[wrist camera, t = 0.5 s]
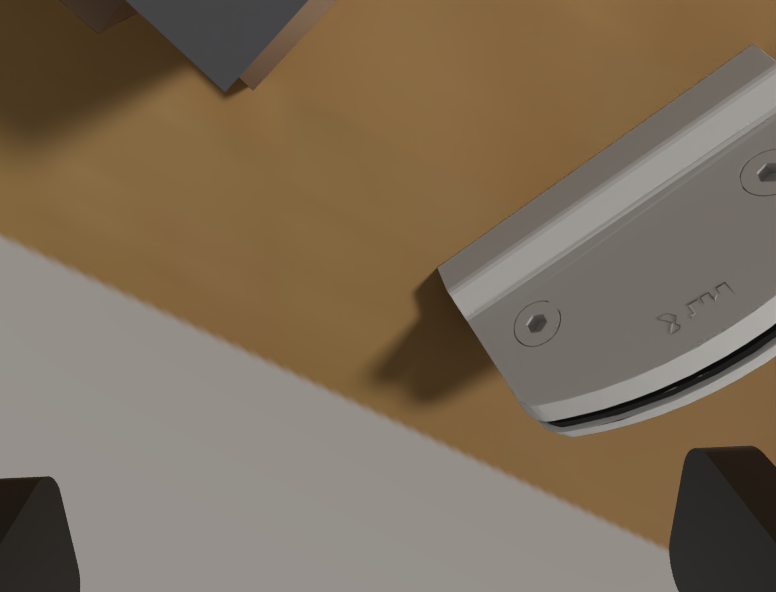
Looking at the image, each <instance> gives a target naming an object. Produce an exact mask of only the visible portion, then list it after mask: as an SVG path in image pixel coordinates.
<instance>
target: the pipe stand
mask: <svg viewBox="0 0 776 592" xmlns="http://www.w3.org/2000/svg"><path fill="white" fill-rule="evenodd" d="M60 1H61V2H63V3H64V4H65V5H66V6H67V7H68V8H69V9H70V10H72V11H73V12H74V13H75V14H76V15H77V16H78V17H79V18H81V19H82V20H83V21H84V22H85V23H86V24H87V25H88V26H90V27H91V28H92V29H93V30H94V31H95V32H96V33H99V32H101V31H103V30H105V29H107V28H109V27H111V26H113V25H115V24H117V23H119V22H121V21H123V20H125V19H127V18H129V17H131V16H133V15H135V14H137V13H138V11H136V10H135V9H134V8H133V7H132V6H131V5H130V4H129V3H128V2H127V1H126V0H60ZM335 1H336V0H308V1H307V2H306V4H305V5H304V6H303V7H302V8H301V9H300V10H299V11H298V12H297V14H296V15H295V16H294V17H293V18H292V19H291V20H290V21H289V22H288V23H287V25H286V26H285V27H284V28H283V29H282V30H281V31H280V32H279V33H278V35H277V36H276V37H275V38H274V39H273V40H272V41H271V42H270V43H269V44H268V46H267V47H266V48H265V49H264V50H263V51H262V52H261V53H260V54H259V55H258V57H257V58H256V59H255V60H254V61H253V62H252V63H251V64H250V65H249V67H248V68H247V69H246V70H245V71H244V72H243V73H242V74H241V75H240V76H239V78H240V79H241V80H242V81H243V82H244V83H245V84H246V85H248V86H249V87H250V88H251V89H252V90H254V89H255V88H256V87H257V86H258V85H259V84H260V83H261V81H262V80H263V79H264V78H265V77H266V76H267V75H268V74H269V73H270V72H271V71H272V70H273V68H274V67H275V66H276V65H277V64H278V63H279V62H280V61H281V60H282V59H283V58H284V57H285V55H286V54H287V53H288V52H289V51H290V50H291V49H292V48H293V47H294V46H295V45H296V44H297V42H298V41H299V40H300V39H301V38H302V37H303V36H304V35H305V34H306V33H307V32H308V31H309V29H310V28H311V27H312V26H313V25H314V24H315V23H316V22H317V21H318V20H319V19H320V18H321V16H322V15H323V14H324V13H325V12H326V11H327V10H328V9H329V8H330V7H331V6H332V5H333V3H334V2H335Z"/></svg>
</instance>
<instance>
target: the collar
mask: <svg viewBox="0 0 776 592" xmlns="http://www.w3.org/2000/svg"><path fill="white" fill-rule="evenodd" d="M126 1H127V2H128V3H129V4H130V5H131V6H132V7H133V8H134V9H135V10H136V11H138V12H139V13H140V14H141V15H142V16H143V17H144V18H145V19H146V20H147V21H148V22H149V23H151V24H152V25H153V26H154V27H155V28H156V29H157V30H158V31H159V32H160V33H161V34H162V35H163V36H165V37H166V38H167V39H168V40H169V41H170V42H171V43H172V44H173V45H174V46H175V47H176V48H178V49H179V50H180V51H181V52H182V53H183V54H184V55H185V56H186V57H187V58H188V59H189V60H191V61H192V62H193V63H194V64H195V65H196V66H197V67H198V68H199V69H200V70H201V71H202V72H204V73H205V74H206V75H207V76H208V77H209V78H210V79H211V80H212V81H213V82H214V83H215V84H216V85H218V86H219V87H220V88H221V89H222V90H223V91H224V92H226V91H227V90H228V89H229V88H230V86H231V85H232V84H233V83H234V82H235V81H236V80H237V79H238V78H239V76H240V75H241V74H242V73H243V72H244V71H245V70H246V69H247V68H248V67H249V65H250V64H251V63H252V62H253V61H254V60H255V59H256V58H257V57H258V55H259V54H260V53H261V52H262V51H263V50H264V49H265V48H266V47H267V46H268V44H269V43H270V42H271V41H272V40H273V39H274V38H275V37H276V36H277V35H278V33H279V32H280V31H281V30H282V29H283V28H284V27H285V26H286V25H287V23H288V22H289V21H290V20H291V19H292V18H293V17H294V16H295V15H296V14H297V12H298V11H299V10H300V9H301V8H302V7H303V6H304V5H305V4H306V2H307V1H308V0H126Z"/></svg>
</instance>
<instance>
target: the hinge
mask: <svg viewBox="0 0 776 592" xmlns="http://www.w3.org/2000/svg"><path fill="white" fill-rule="evenodd" d="M437 268H438V271H439V273H440V275H441V278H442V280H443V283H444V285H445V288H446V290H447V291H448V293H449V294H450V296H451V297H452V299H453V301H454V302H455V304H456V305H457V307H458V308H459V310H460V311H461V313H462V314H463V316H464V317H465V319H466V320H467V322H468V323H469V325H470V327H471V328H472V330H473V331H474V333H475V334H476V336H477V337H478V339H479V341H480V342H481V344H482V345H483V347H484V348H485V350H486V352H487V353H488V355H489V356H490V358H491V359H492V361H493V362H494V364H495V366H496V367H497V369H498V370H499V372H500V373H501V375H502V376H503V378H504V380H505V381H506V383H507V384H508V386H509V387H510V389H511V391H512V392H513V394H514V395H515V397H516V398H517V400H518V401H519V403H520V404H521V406H522V407H523V409H524V410H525V412H526V413H527V414H528V415H529V416H531V417H532V418H534V419H536V420H538V421H539V423H540V424H541V425H542V426H543V427H544V428H546V429H547V430H549V431H552V432H555V433H559V434H562V435H566V436H571V437H575V436H581V435H587V434H592V433H598V432H603V431H607V430H611V429H615V428H619V427H622V426H626V425H630V424H634V423H637V422H640V421H643V420H646V419H650V418H653V417H656V416H659V415H661V414H664V413H666V412H669V411H671V410H674V409H677V408H679V407H682V406H684V405H687V404H689V403H691V402H693V401H696V400H698V399H700V398H702V397H704V396H706V395H709V394H711V393H713V392H715V391H717V390H719V389H721V388H723V387H724V386H726V385H728V384H730V383H732V382H734V381H736V380H738V379H739V378H741V377H743V376H744V375H746V374H748V373H749V372H751V371H753V370H754V369H756V368H758V367H759V366H761V365H763V364H764V363H766V362H767V361H769V360H770V359H772V358H773V357H775V356H776V61H775V60H774V59H773V58H771V57H770V56H769V55H767V54H766V53H765V52H764V51H762V50H761V49H760V48H758V47H757V46H756V45H754V44H752V45H751V46H749V47H748V48H747V49H745V50H744V51H742V52H741V53H739V54H738V55H737V56H735V57H734V58H732V59H731V60H730V61H728V62H727V63H725V64H724V65H723V66H721V67H720V68H718V69H717V70H715V71H714V72H713V73H711V74H710V75H708V76H707V77H706V78H704V79H703V80H701V81H700V82H699V83H697V84H696V85H694V86H693V87H691V88H690V89H689V90H687V91H686V92H684V93H683V94H682V95H680V96H679V97H677V98H676V99H675V100H673V101H672V102H670V103H669V104H668V105H666V106H665V107H663V108H662V109H660V110H659V111H658V112H656V113H655V114H653V115H652V116H651V117H649V118H648V119H646V120H645V121H644V122H642V123H641V124H639V125H638V126H636V127H635V128H634V129H632V130H631V131H629V132H628V133H627V134H625V135H624V136H622V137H621V138H620V139H618V140H617V141H615V142H614V143H612V144H611V145H610V146H608V147H607V148H605V149H604V150H603V151H601V152H600V153H598V154H597V155H596V156H594V157H593V158H591V159H590V160H588V161H587V162H586V163H584V164H583V165H581V166H580V167H579V168H577V169H576V170H574V171H573V172H572V173H570V174H569V175H567V176H566V177H564V178H563V179H562V180H560V181H559V182H557V183H556V184H555V185H553V186H552V187H550V188H549V189H548V190H546V191H545V192H543V193H542V194H540V195H539V196H538V197H536V198H535V199H533V200H532V201H531V202H529V203H528V204H526V205H525V206H524V207H522V208H521V209H519V210H518V211H516V212H515V213H514V214H512V215H511V216H509V217H508V218H507V219H505V220H504V221H502V222H501V223H500V224H498V225H497V226H495V227H494V228H493V229H491V230H490V231H488V232H487V233H485V234H484V235H483V236H481V237H480V238H478V239H477V240H476V241H474V242H473V243H471V244H470V245H469V246H467V247H466V248H464V249H463V250H461V251H460V252H459V253H457V254H456V255H454V256H453V257H452V258H450V259H449V260H447V261H446V262H445V263H443V264H442V265H440V266H439V267H437Z"/></svg>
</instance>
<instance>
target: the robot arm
mask: <svg viewBox="0 0 776 592" xmlns="http://www.w3.org/2000/svg"><path fill="white" fill-rule="evenodd" d="M669 554H670V564H671V569H672V573H673V577H674V580H675V584H676V586H677V589H678V591H679V592H776V467H775V466H774V465H773V463H772V462H771V461H770V460H769V459H768V458H767V457H766V456H765V455H764V453H762V452H761V451H760V450H759V449H758V448H756V447H754V446H734V447H712V448H694V449H691V450H690V451H689V452H688V454H687V455H686V458H685V461H684V465H683V470H682V476H681V481H680V487H679V492H678V498H677V503H676V509H675V514H674V520H673V526H672V531H671V537H670V544H669ZM0 592H80V575H79V569H78V564H77V560H76V556H75V552H74V547H73V543H72V539H71V535H70V531H69V527H68V522H67V518H66V514H65V510H64V506H63V502H62V497H61V493H60V490H59V487H58V485H57V483H56V481H55V480H54V479H53V478H52V477H49V476H48V477H27V478H4V479H0Z"/></svg>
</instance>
